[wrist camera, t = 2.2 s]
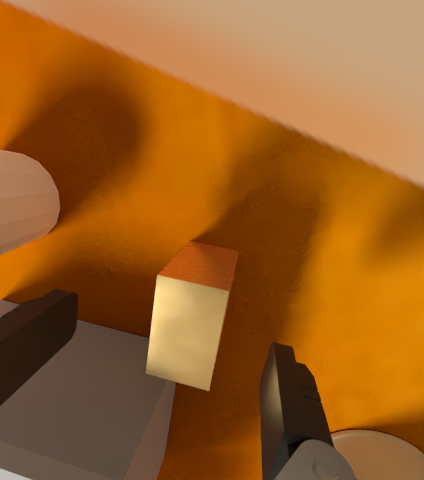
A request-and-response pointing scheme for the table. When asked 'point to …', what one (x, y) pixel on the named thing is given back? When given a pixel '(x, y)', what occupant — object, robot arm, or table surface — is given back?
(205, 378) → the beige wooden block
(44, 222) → the white cup
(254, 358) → the table surface
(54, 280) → the table surface
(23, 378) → the robot arm
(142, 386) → the coin box
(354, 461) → the can
